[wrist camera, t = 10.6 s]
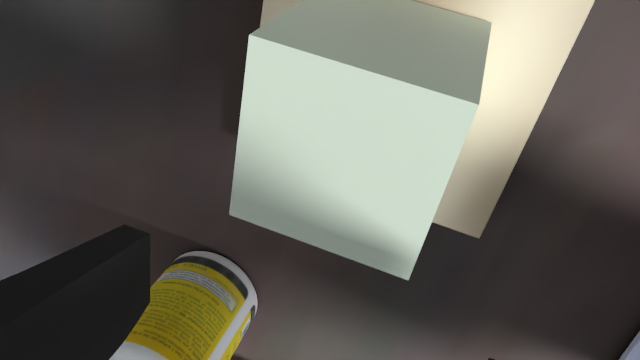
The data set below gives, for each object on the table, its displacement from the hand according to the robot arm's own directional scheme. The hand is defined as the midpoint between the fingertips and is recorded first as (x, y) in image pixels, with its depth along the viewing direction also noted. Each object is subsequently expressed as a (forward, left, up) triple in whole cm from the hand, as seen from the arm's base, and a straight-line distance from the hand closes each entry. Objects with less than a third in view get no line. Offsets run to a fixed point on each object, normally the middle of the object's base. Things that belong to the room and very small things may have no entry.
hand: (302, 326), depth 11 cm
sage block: (0, -3, -8) cm, 9 cm away
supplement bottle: (+6, +10, -10) cm, 16 cm away
